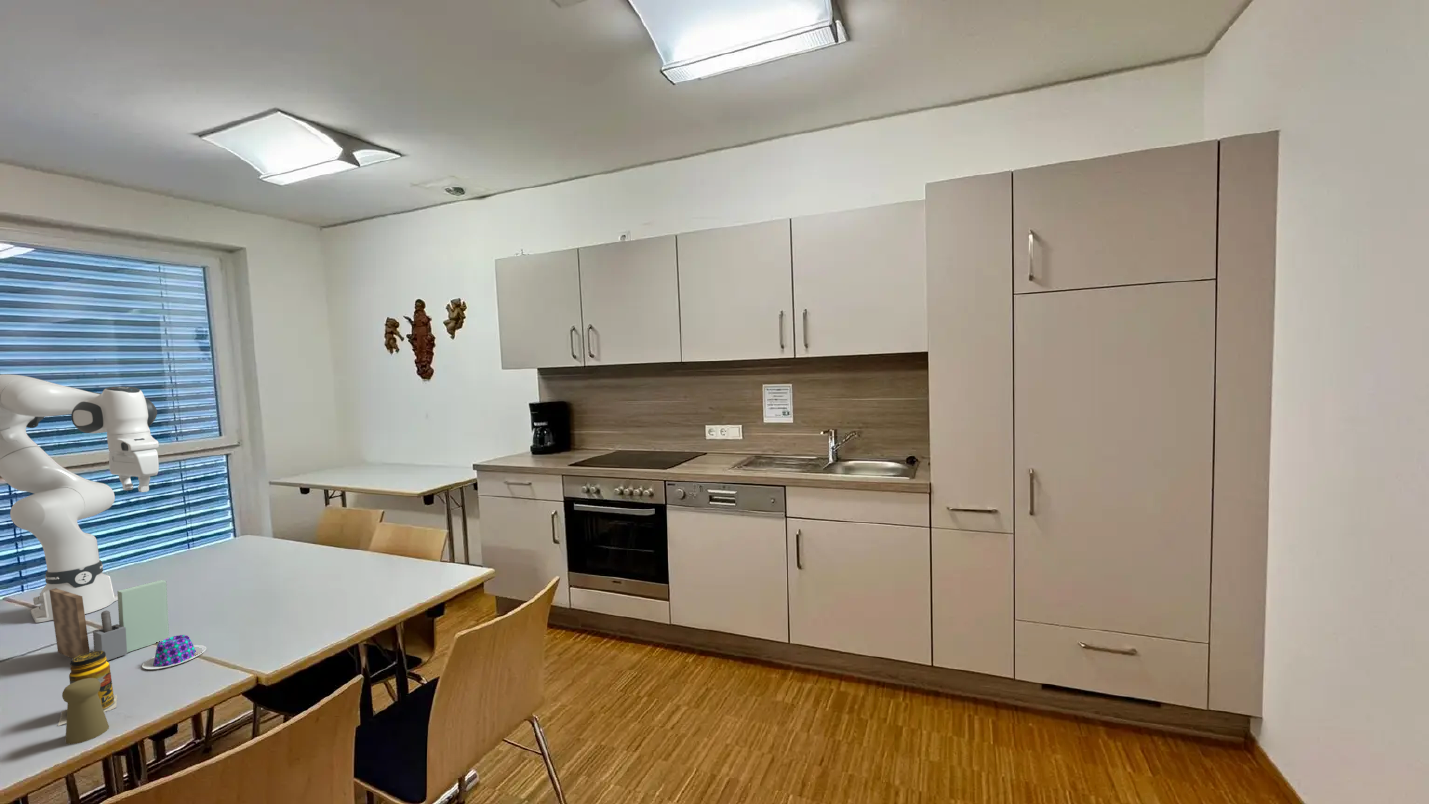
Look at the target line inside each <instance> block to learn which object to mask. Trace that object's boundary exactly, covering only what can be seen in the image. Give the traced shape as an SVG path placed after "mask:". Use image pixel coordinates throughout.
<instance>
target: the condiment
mask: <svg viewBox="0 0 1429 804" xmlns="http://www.w3.org/2000/svg"><path fill="white" fill-rule="evenodd" d="M106 660H107V659H106V653H105V652H104V651H94V650H93V651H90V652H88V653H85V654H82V655H79V656H77V657H75V658H74V659H72V658H71V660H70V661H69V662H70V663H69V664H70V667H69V669H70V671H69V674H68V678H69V685H70V684H72V683H74V682H76V681H79V680H82V679H87V678H96V679H97V680H99V682H100V685H101V687H100V690H99V692H98V696H99V699H100V702H101V705H102V708H103V711H104V713H105V712H107V711H111V710H114V709H117V704H118V703H117V701H118V694H115V695H114V689H113V688H114V687H113V682H112V681H113V680H112V672H111V665H110V663H109V661H106ZM66 722H67V709H64V710H61V712H60V717H59V721H58V725H57V726H58V727H60V726H62V725H66Z"/></svg>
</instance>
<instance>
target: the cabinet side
mask: <svg viewBox="0 0 1429 804" xmlns="http://www.w3.org/2000/svg"><path fill="white" fill-rule="evenodd" d="M49 591H50V598H51V606H52V613H53V620H52V621H53V625H54V634H55V642H56V647H57V653H59V655H64V656H65V657H68V658H71V660H72V659H74V658H75V657H77V656H79V655H82V654H85V653H88V652H91V650H90V643H89V635H88V629H87V621H86V614H85V613H84V605H83V598H82V596H80V595H76V594H73V593H70V592H67V591H63V590H60V589H57V588H55V589H51V590H49ZM100 618H101V625H102V628H103V633H105V632H109V631H112V626H113V624H112V617H111V611H110V610H103V611H102V612H101V613H100ZM120 657H121V656H119V657H118V658H120ZM118 658H117V657H116V658H113V659H110V660H107V662H109V661H112V660H115V659H118Z"/></svg>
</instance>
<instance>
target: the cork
mask: <svg viewBox="0 0 1429 804" xmlns="http://www.w3.org/2000/svg"><path fill="white" fill-rule="evenodd" d="M100 687H101V685H100V682H99V680H97V679H96V678H87V679H82V680H79V681H76V682H74V683H72V684H70V683H69V684H68V685H66V687H64V689H63V691H62V692H61V693H62V694H61V697H62V699H63V701H64V702H65V703H67V709H66V710H67V722H66V724H65V741H64V742H65V744H67V745H76V744H81V743H84V742H87V741H90V740H93V739H95V738H98V737H99V736H101V735H103V734H105V733H106V732H107V731H108V730H109V728H110V726H109V722H108V719H107V716H106V714H105V712H104V711H103V708H102V705H101V702H100V699H99V696H98V692H99V690H100Z"/></svg>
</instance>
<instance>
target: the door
mask: <svg viewBox="0 0 1429 804" xmlns="http://www.w3.org/2000/svg"><path fill="white" fill-rule="evenodd" d="M167 585H168V584H167V581H166V580H164V579H158V580H155V581H152V582H147V583H144V584H140V585H136V586H133V587H128V588H124V589H119V590H117V595H118V600H117V607H118V623H119V624H118V623H117V624H116V623H115V624H114V625H113V624H112V631H109V632H105V633H103V627H102V628H98V629H96V630H93V631H92V636H93V637H92V638H93V651H104V652H105V653H106V659H107V660H109V661H111V660H110V659H112V660H114V659H113V658H115V659H117V658H116V657H118V658H120V657H122V656H126V655H128V653H130V652H132V651H136V650H139V649H142V648H145V647H148V646H152V645H154V644H157V643H156V642H158V643H159V641H162V640H164V639H167V638H170V629H169V628H170V627H169V625H170V624H169V623H170V622H169V609H168V608H169V606H168V589H167V588H168V587H167ZM119 656H120V657H119ZM107 660H106V661H107ZM107 662H108V661H107Z"/></svg>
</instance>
